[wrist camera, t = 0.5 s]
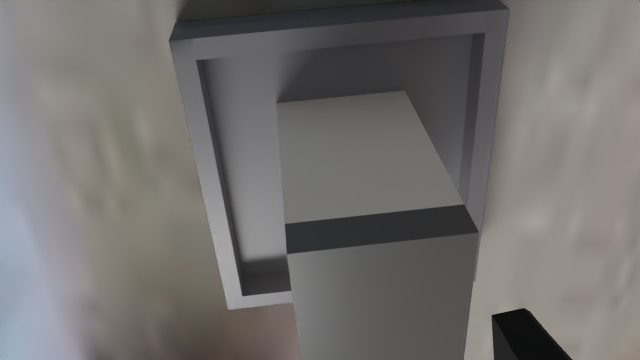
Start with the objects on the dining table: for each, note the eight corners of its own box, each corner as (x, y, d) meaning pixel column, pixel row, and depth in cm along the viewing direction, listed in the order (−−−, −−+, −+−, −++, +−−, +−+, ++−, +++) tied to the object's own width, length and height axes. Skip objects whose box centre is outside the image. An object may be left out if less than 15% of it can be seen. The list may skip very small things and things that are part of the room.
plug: (404, 90, 17) (478, 232, 12) (401, 217, 20) (460, 383, 14) (276, 103, 17) (287, 254, 11) (291, 229, 20) (305, 402, 14)
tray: (490, -7, 17) (509, 9, 15) (462, 254, 22) (474, 281, 21) (175, 22, 16) (169, 40, 15) (230, 281, 22) (228, 309, 21)
